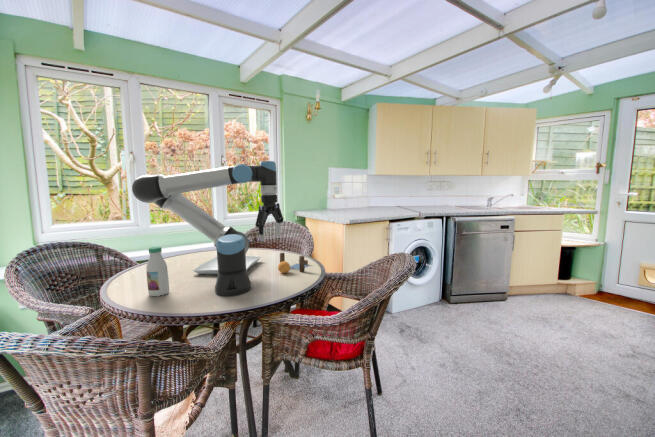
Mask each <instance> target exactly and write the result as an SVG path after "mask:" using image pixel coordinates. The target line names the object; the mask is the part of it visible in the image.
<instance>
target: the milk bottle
mask: <svg viewBox="0 0 655 437" xmlns="http://www.w3.org/2000/svg"><path fill="white" fill-rule="evenodd" d="M162 249H163V248H162V246H152V247H149V248H148V254H149V258H148V262H147V264H146V268H145V270H146V282H147V283H146V284H147V292H148V296H149V295H150V296H149V297H152V296H157V297H161V296H160V295H162V296H165V295H167V294H169V293H170V281H169V271H168V265H167V262H166V260H165V259H164V257H163V256H162ZM168 292H169V293H168ZM164 294H165V295H164Z"/></svg>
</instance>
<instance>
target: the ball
mask: <svg viewBox="0 0 655 437" xmlns="http://www.w3.org/2000/svg"><path fill="white" fill-rule="evenodd" d="M290 266H291V265H290V263H289V262H288V261H283V262H281V263H280V262H279V264H278V266H277V269H278V271H279V273H281V274H287V273H289V271H290V269H291V268H290Z"/></svg>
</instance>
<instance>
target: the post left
mask: <svg viewBox="0 0 655 437" xmlns="http://www.w3.org/2000/svg"><path fill="white" fill-rule="evenodd" d="M285 254H286V253H285V252H279V264H280V263H281V262H283V261H285V260H286V259H285Z"/></svg>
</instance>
